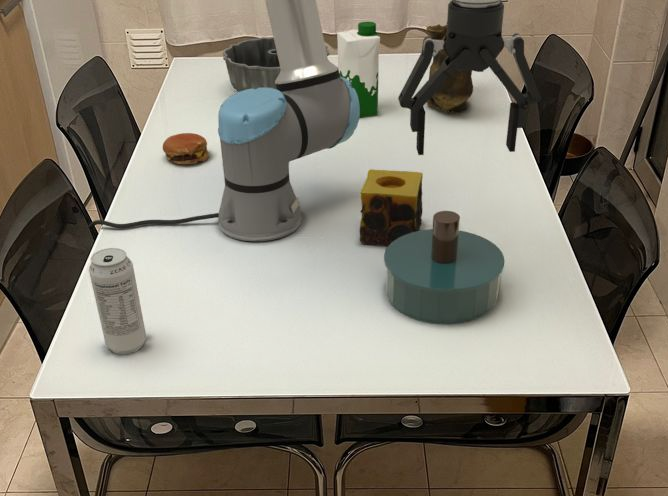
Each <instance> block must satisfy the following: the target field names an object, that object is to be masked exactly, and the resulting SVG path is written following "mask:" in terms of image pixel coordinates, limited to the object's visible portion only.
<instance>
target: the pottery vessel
mask: <svg viewBox="0 0 668 496" xmlns="http://www.w3.org/2000/svg"><path fill="white" fill-rule="evenodd" d="M425 29H426V31H427V32H428V34H429V35H430V38H431V39H433V40H444V38H445V36H446V33H447V24H445V25H441V24H437V25H427V26H426V28H425ZM446 57H447V55H446V53H445V52H444V50H443V49H442V50H440V51H439V52H438V54H437V55H436V56H433V57H432V62H431V64H430V66H429V71H428V72H429V73H428V80H429V79H430V77H431V76H432V75H433V74H434V73H435V72H436V71H437V69H438V68H439V67H440V66H441V63H442V62H443V61H444V60H445V58H446ZM472 74H473V71H469V72H461V71H459V70H456V71H455V72H454V73H453V75H452V76H450V77H448V78H447V80H446V81H445V82H444V83H443V84H442V85H441V86H440V88H439V89H438V90H437V91H436V92H435V93H434V94H433V95H432V97H431V98H430V99H429V100H428V101H427V102H426V105H427V107H430V106H433V107H434V108H436V109H439V111H443V110H445V111H446V113H447V114H449V115H450V114H451V113H452V114H460V113H464V112H466V111H467V110H468V109H469V103H468V100H469V99H470V98H471V97H472V95H473V93H474V84H473V83H474V82H473V78H472Z"/></svg>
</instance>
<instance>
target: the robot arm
mask: <svg viewBox="0 0 668 496" xmlns="http://www.w3.org/2000/svg"><path fill="white" fill-rule="evenodd" d="M264 1H265V4H266V10H267V15H268V18H269V23H270V28H271V32H272V37H274V42H275V46H276V51H277V55H278V60H279V64H280V68H281V71H280V74H279V75H278V77H277V79H276V81H275V85H276V89H277V90H276V89H273V88H265V87H261V88H258V89H253V88H252V89H247V90H244V91H240V92H238V91H237V92H236V93H233V94H232V95H230V96H228V97H227V98H226V99H225V100H224V101H223V102H222V104H220V107H219V109H218V112H217V113H218V115H217V116H218V117H217V119H218V127H217V134H218V137H219V142H220V143H219V144H220V152H221V160H222V170H223V179H224V180H223V181H224V189H223V192H222V196H221V201H220V206H219V210H218V212H215V213H208V214H202V215H201V214H200V215H195V216H189V217H185V218H179V219H178V218H177V219H145V220H138V221H133V222H127V223H116V222H111V221H108V220H103V219H96V220H93V221H91V222H90V223H89V224H88V225H87V227H86V228H87V229H92V228H94V227H95V226H97V225H102V226H106V227H110V228H114V229H127V228H128V229H129V228H134V227H140V226H146V225H178V224H186V223H191V222H196V221H197V222H198V221H202V220H209V219H217V218H218V227H219V229H220V230H221V232H222V233H223V234H224V235H226V236H228V237H230V238H232V239H235V240H239V241H244V242H267V241H268V242H269V241H274V240H277V239H282V238H284V237H286V236H289V235H291V234H292V233H294V232H295V231H297V230H298V229H299V228H300V226H301V225H302V210H301V206H300V204H301V203H300V200H299V198H298V197H297V196H296V194H295V191H294V189H293V186H292V184H291V180H290V163H291V162H292V161H295V160H299V159H301V158H304V157H306V156H310V155H312V154H315V153H318V152H320V151H324V150H329V149H333V148H335V147H336V146H339V144H342V143H345V142H346V141H348V140H349V139H350V138H351V137H352V136H353V135H354V133H355V130H357V128H358V125H359V121H360V118H359V115H360V106H359V100H358V96H357V93H356V91H355V89H354V88H351V87H352V84H351V83H350V82H349V81H348V80H347V79H346V78H343V77H340V74H339V69H338V65H336V64H334V63H332V62H331V61H330V60H329V58H328V56H327V53H326V48H325V46H326V43H325V38H324V33H323V28H322V22H321V17H320V13H319V9H318V4H317V0H264ZM504 14H505V4H504V3H503V1H502V0H451V1H450V2H449V3H448V5H447V16H446V17H447V19H446V25H447V33H446V36H445V38H444V40H433V39H432V37H431V36H425V37H424V38H423V40H422V46H421V53H420V55H419V57H418V58H417V60H416V62H415V65H414V66H413V68H412V70H411V72H410V74H409V76H408V78H407V80H406V81H405V83H404V86H403V87H402V89H401V91H400V93H399V95H398V99H397V100H398V103H399V106H400V108H403V109H405V108H406V109H408V110H410V113H409V114H410V115H409V123H410V124H409V126H410V130H411V132H412V133H416V152H417V155H418V156H424V154H425V131H426V109H425V107H424V106H425V105H426V104H427V101H428V100H429V99H430V98H431V97H432V95H433V94H434V93H435V92H436V91H437V90H438V89H439V88H440V86H441V85H442V84H443V83H444V82H445V81H446V80H447V78H448V77H450V76H452V75H453V73H454V72H455V71H456V70H459V71H461V72H469V71H472V72H476V73H483V72H484V71H485V70H487V69H488V68H489V69H490V70H491V71H492V72H493V74H494V76H496V78H497V79H498V80H499V81H500V82H501V84H502V85H503V86H504V88H505V89H506V90H507V92H508V93H509V94H510V96H511V97H512V98H513V99H514V101H515V102H510V103H509V113H508V123H507V131H506V134H507V135H506V140H505V146H506V148H507V149H508V151H509V152H510V153H514V152H516V143H517V135H518V129H523V128H524V126H525V124H526V123H525V122H526V114H527V110H528V109H529V107H530V105H531V104H538V103H540V102H541V100H542V97H541V95H540V92H539V90H538V87H537V84H536V81H535V79H534V77H533V76H534V75H533V74H532V71H531V68H530V65H529V63H528V61H527V58H526V56H525V40H524V38H523V37H522V36H521V34H520V33H517V32H516V33H514V34H512V36H509V37H503V33H502V32H503V24H504ZM504 48H505V49H507V52H508V53H509V54H511V55H513V58H514V61H515V63H516V66H517V69H518V71H519V74H520V77H521V80H522V81H523V84H524V86H525V89H526V92H525V93H522V91H521V90H520V89H519V88H518V86H517V84H515V82H514V81H513V79H512V77H510V76H509V74H508V73H507V72H506V70H505V69H504V68H503V67H502V65H501V64H500V62H499V61H498V59H497V57H498V56H499V55H500V54H501V52H502V51H503V50H504ZM442 49H443V50H444V52H445V53H446V55H447V57H446V58H445V60H444V61H443V62H442V63H441V66H440V67H439V68H438V69H437V71H436V72H435V73H434V74H433V75H432V76H431V77H430V79H429V78H428V79H427V80H426V81H425V83H424V84H423V86H421V88H419V90H418V91H417V89H418V87H419V86H420V83H421V81H422V80H423V78H424V76H425V75H426V72H427V70H428V69H429V67H430V66H431V63H432V61H433V56H436V55H437V54H438V52H439V51H440V50H442ZM416 91H417V93H416ZM415 93H416V94H415Z"/></svg>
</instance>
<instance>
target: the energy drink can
mask: <svg viewBox="0 0 668 496" xmlns="http://www.w3.org/2000/svg"><path fill="white" fill-rule="evenodd" d="M90 261H91V262H90V264H89V267H88V273H89V277H90V282H91V286H92V291H93V295H94V299H95V304H96V309H97V313H98V318H99V321H100V326H101V330H102V331H101V332H102V335H103V339H104V344H105V346H106V347H107V348H108V349H110V351H112V352H113V353H115V354H118V355H128V354H132V353H135V352H137V351H139V350H140V349H142V347H143V345H144V344H145V341H146V340H147V332H146V327H145V321H144V316H143V310H142V306H141V302H140V301H141V300H140V296H139V290H138V284H137V280H136V274H135V269H134V264H133V263H134V262H133V261H132V260H131V259H130V258H129V257H128V256H127V252H126V251H125V250H124V249H121V248H118V247H107V248H102V249H100V250H98V251H96V252H94V253H93V254H92V255H91V257H90Z"/></svg>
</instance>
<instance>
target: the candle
mask: <svg viewBox="0 0 668 496" xmlns="http://www.w3.org/2000/svg"><path fill="white" fill-rule="evenodd" d="M423 174H424V173H423V172H421V171H408V170H407V171H406V170H388V169H368V171H367V175H366V176H367V177H366V179H365V181H364V183H363V185H362V188H361V190H360V201H361V210H360V214H361V219H360V225H359V236H360V237H359V242H360V243H361V244H364V245H371V246H372V245H373V246H382V247H388V246H389V245H390V244H391V243H392V242H393V241H394V240H396V239H398V238H399V237H401V236H404V235H406V234H409V233H412V232H416V231H421V225H422V217H423V200H422V199H423Z"/></svg>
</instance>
